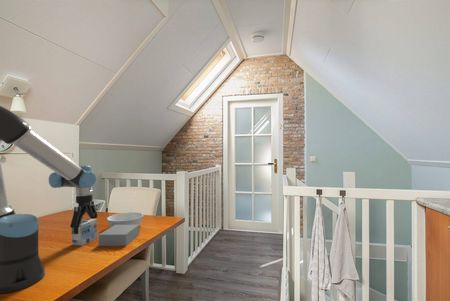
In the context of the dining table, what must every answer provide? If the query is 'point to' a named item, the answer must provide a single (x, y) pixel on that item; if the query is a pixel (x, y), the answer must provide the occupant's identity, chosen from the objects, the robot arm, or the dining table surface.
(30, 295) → the dining table surface
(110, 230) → the grey block
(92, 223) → the light bulb box
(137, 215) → the serving bowl
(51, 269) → the dining table surface
